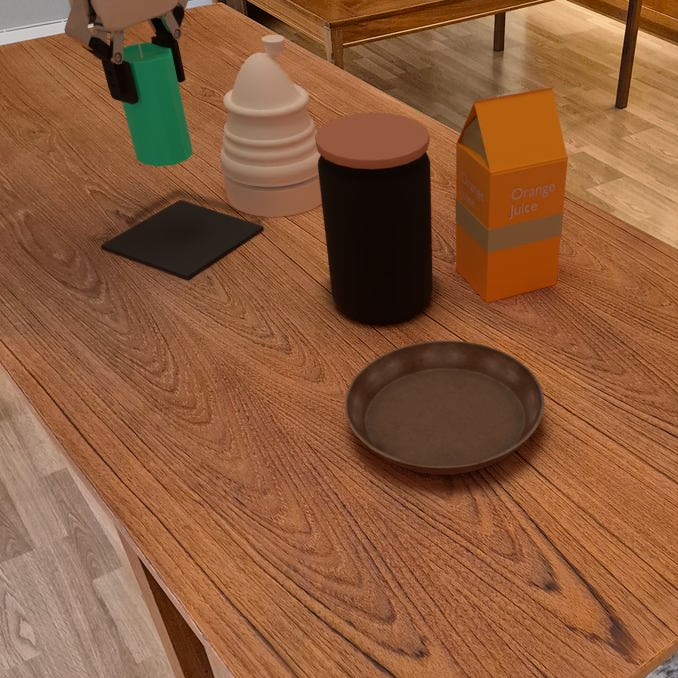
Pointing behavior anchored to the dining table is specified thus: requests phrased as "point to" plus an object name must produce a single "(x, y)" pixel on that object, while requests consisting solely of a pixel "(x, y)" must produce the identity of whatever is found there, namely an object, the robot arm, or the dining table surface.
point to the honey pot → (269, 140)
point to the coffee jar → (377, 215)
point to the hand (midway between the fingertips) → (149, 88)
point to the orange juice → (510, 194)
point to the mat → (183, 239)
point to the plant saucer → (444, 406)
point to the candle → (156, 107)
